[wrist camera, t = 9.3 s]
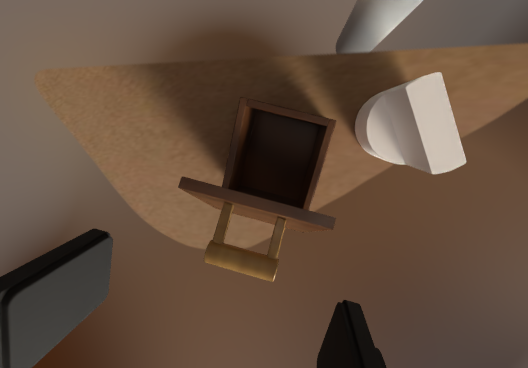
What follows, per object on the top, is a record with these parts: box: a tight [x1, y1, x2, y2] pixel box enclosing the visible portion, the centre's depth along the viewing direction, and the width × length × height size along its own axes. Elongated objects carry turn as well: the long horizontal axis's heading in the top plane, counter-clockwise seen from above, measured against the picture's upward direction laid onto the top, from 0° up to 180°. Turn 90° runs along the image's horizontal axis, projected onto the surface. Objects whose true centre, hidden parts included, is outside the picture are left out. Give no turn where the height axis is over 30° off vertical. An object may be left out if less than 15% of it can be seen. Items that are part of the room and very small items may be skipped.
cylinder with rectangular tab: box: [355, 72, 466, 174], centre depth 29 cm, size 9×9×12 cm
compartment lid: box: [178, 177, 336, 282], centre depth 23 cm, size 13×11×5 cm
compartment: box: [222, 97, 336, 210], centre depth 33 cm, size 13×11×9 cm
